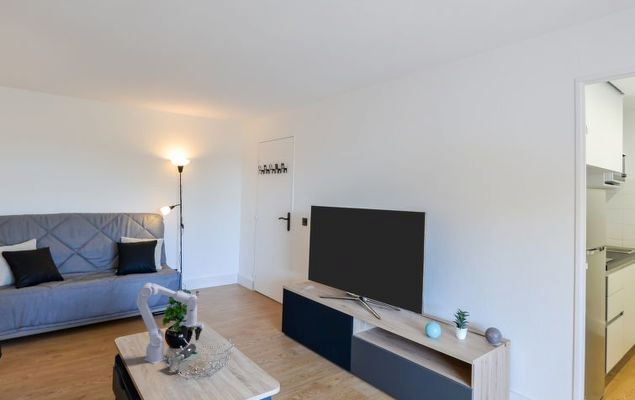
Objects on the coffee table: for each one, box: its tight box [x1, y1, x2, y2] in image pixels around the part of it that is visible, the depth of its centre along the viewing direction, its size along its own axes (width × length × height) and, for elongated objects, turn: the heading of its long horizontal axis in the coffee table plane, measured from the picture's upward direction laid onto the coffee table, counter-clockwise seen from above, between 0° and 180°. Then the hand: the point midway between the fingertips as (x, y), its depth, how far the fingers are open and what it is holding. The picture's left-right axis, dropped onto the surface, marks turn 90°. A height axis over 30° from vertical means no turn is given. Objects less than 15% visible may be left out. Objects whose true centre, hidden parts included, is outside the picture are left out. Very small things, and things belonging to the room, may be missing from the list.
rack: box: [167, 350, 201, 363], centre depth 202 cm, size 8×15×2 cm, turn 148°
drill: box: [179, 343, 197, 360], centre depth 203 cm, size 11×5×5 cm, turn 163°
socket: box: [168, 356, 190, 374], centre depth 190 cm, size 8×6×6 cm
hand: (191, 339), depth 206 cm, fingers open, 7 cm apart
